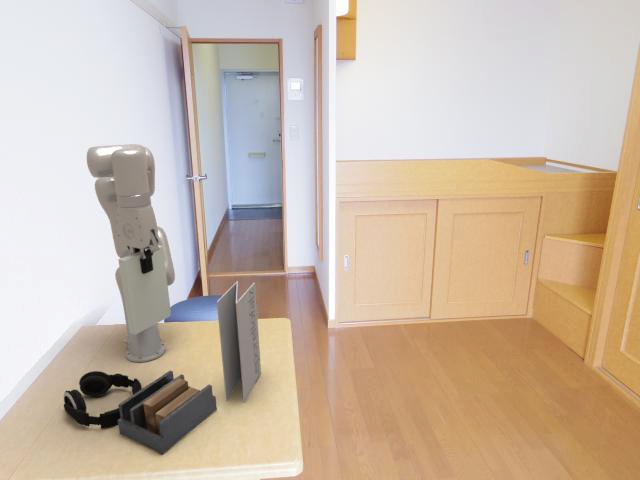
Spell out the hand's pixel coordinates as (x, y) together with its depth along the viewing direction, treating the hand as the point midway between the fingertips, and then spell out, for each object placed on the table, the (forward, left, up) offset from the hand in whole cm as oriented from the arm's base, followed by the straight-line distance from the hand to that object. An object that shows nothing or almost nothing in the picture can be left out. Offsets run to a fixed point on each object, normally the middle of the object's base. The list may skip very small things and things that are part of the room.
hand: (144, 270), depth 118 cm
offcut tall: (+9, -5, -39) cm, 40 cm away
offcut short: (+13, -5, -39) cm, 41 cm away
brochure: (+16, +16, -39) cm, 45 cm away
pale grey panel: (0, 0, -15) cm, 15 cm away
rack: (+8, -5, -39) cm, 40 cm away
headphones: (-11, -10, -39) cm, 42 cm away
